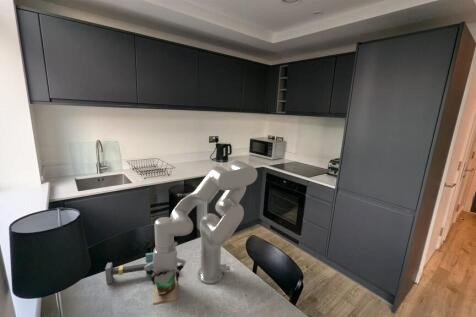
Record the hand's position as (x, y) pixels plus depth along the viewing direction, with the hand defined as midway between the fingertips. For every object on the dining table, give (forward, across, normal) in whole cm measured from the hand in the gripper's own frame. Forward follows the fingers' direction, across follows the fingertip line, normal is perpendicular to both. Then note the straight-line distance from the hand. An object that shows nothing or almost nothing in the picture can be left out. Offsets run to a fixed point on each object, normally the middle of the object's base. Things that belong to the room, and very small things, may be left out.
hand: (165, 280), depth 101 cm
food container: (+4, -2, 0) cm, 5 cm away
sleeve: (+4, +7, -12) cm, 14 cm away
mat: (+5, 0, 0) cm, 5 cm away
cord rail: (+5, +11, -12) cm, 17 cm away
